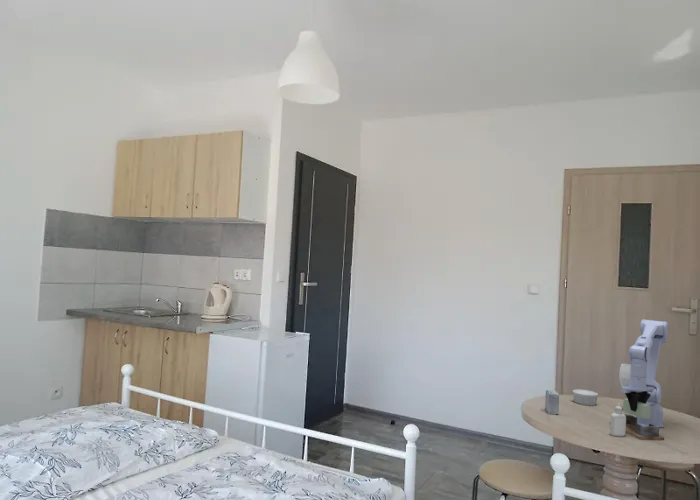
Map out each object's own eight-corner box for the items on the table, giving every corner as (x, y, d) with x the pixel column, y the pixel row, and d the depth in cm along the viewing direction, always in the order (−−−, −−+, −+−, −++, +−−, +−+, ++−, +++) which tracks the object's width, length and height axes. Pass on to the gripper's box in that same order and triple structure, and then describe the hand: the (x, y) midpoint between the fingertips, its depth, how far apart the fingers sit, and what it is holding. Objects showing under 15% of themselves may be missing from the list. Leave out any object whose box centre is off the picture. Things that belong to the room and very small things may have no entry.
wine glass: (636, 410, 240) (638, 365, 240) (634, 414, 234) (637, 367, 234) (618, 407, 244) (620, 362, 244) (616, 410, 238) (618, 365, 238)
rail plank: (628, 410, 212) (629, 398, 212) (650, 418, 202) (650, 405, 202) (623, 411, 211) (623, 398, 211) (644, 418, 201) (644, 405, 202)
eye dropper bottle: (626, 437, 198) (628, 406, 198) (610, 435, 200) (611, 404, 200) (624, 434, 202) (625, 403, 203) (608, 432, 204) (609, 401, 204)
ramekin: (575, 405, 244) (575, 393, 244) (569, 399, 255) (569, 388, 255) (600, 407, 242) (601, 396, 242) (593, 401, 253) (594, 390, 253)
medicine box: (558, 415, 225) (559, 394, 225) (547, 413, 226) (548, 393, 226) (555, 410, 232) (556, 390, 233) (544, 409, 233) (545, 389, 234)
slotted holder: (631, 424, 216) (632, 414, 216) (664, 440, 198) (664, 428, 198) (609, 424, 215) (610, 413, 215) (640, 439, 197) (640, 427, 197)
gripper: (644, 373, 213) (642, 407, 213) (615, 374, 208) (614, 408, 208) (659, 377, 206) (657, 412, 206) (630, 378, 202) (628, 413, 201)
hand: (636, 410), depth 207 cm, fingers closed on rail plank, 3 cm apart
